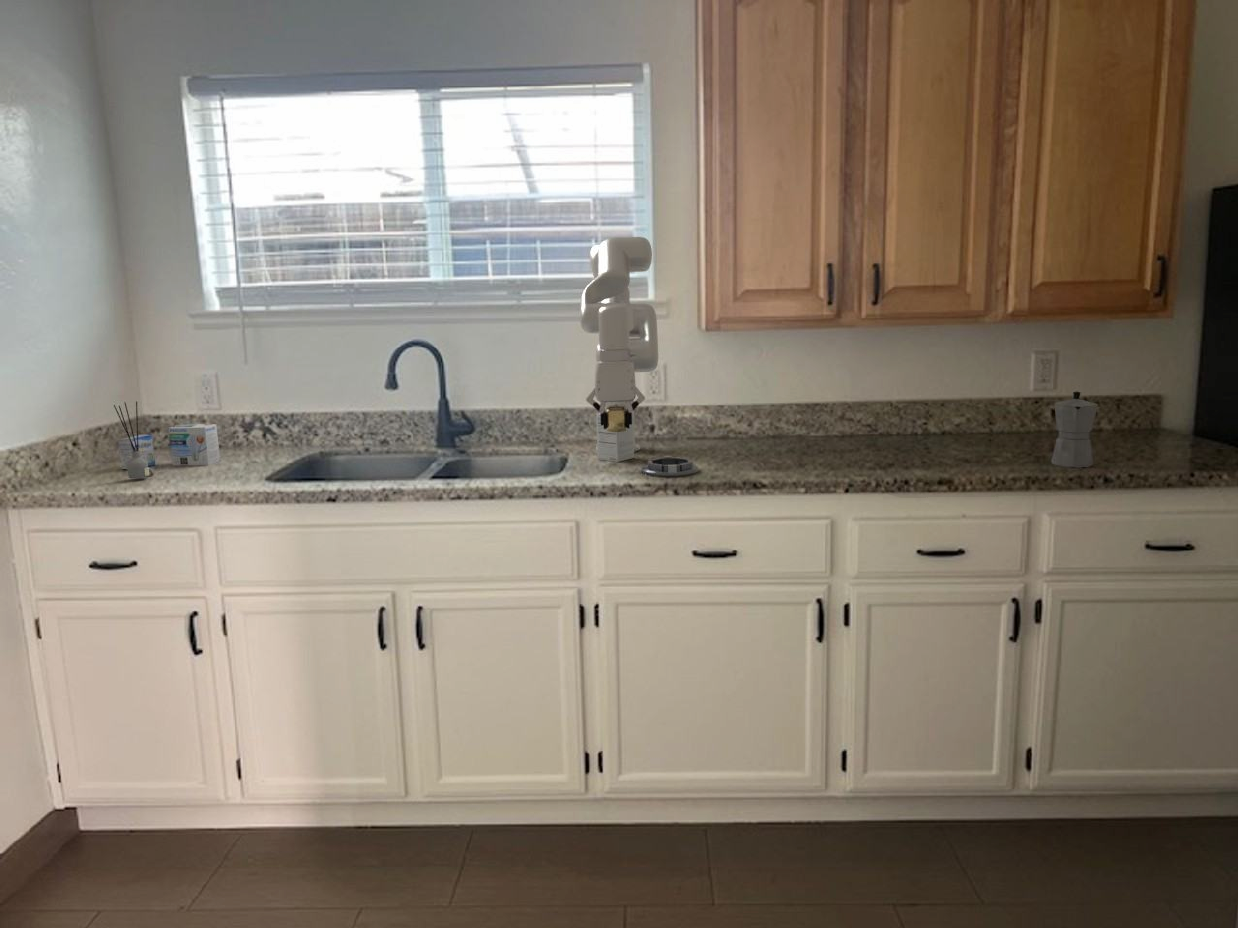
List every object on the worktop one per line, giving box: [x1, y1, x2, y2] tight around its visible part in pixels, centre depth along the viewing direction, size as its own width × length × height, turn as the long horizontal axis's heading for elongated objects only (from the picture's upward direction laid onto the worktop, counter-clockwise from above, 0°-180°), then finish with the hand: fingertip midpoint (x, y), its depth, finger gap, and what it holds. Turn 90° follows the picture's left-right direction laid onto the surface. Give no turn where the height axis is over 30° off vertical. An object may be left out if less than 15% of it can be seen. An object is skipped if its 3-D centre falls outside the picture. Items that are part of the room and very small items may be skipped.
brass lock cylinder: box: [606, 404, 627, 432], centre depth 222 cm, size 5×5×6 cm
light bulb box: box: [168, 423, 221, 467], centre depth 246 cm, size 11×7×11 cm, turn 87°
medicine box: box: [117, 434, 156, 469], centre depth 242 cm, size 8×4×9 cm, turn 170°
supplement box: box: [595, 412, 635, 463], centre depth 237 cm, size 7×7×13 cm
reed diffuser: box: [113, 401, 156, 479], centre depth 224 cm, size 10×7×20 cm
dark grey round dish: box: [641, 455, 699, 478], centre depth 219 cm, size 14×14×3 cm
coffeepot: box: [1050, 391, 1099, 469], centre depth 216 cm, size 15×9×18 cm, turn 157°
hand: (616, 427), depth 223 cm, fingers closed on brass lock cylinder, 5 cm apart
